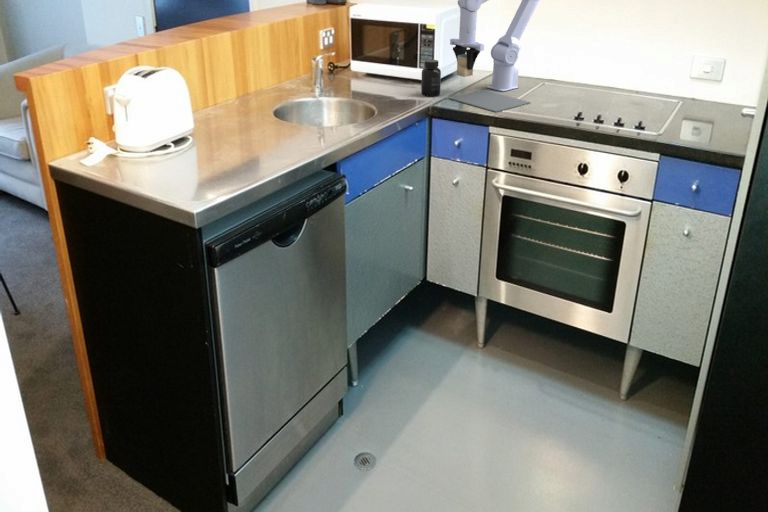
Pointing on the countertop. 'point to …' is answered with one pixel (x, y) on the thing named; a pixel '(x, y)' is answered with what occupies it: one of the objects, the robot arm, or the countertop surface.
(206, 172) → the countertop surface
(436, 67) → the supplement bottle
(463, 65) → the beech block
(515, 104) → the rubber mat
